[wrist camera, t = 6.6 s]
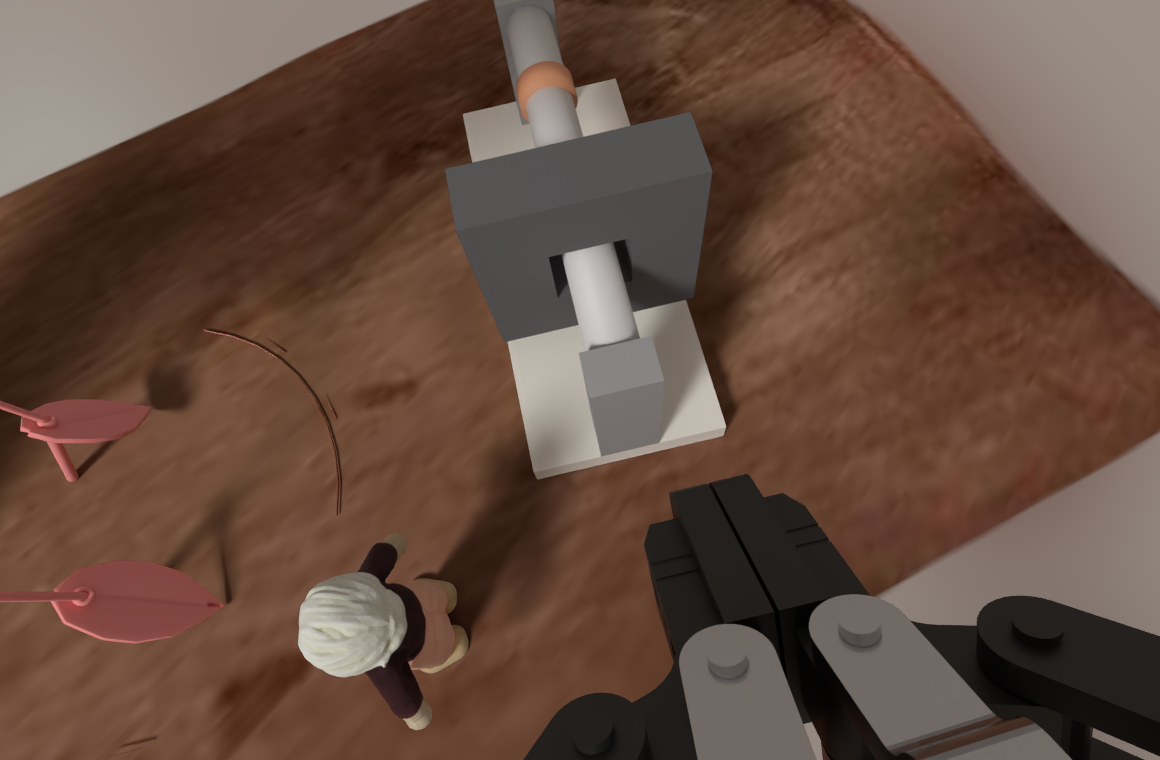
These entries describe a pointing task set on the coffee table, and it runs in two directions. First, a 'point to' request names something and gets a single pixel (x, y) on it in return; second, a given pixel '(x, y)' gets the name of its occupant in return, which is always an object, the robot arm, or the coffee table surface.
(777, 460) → the coffee table surface
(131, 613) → the flower
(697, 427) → the pipe stand
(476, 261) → the grey plate with hole
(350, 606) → the grandmother figurine
